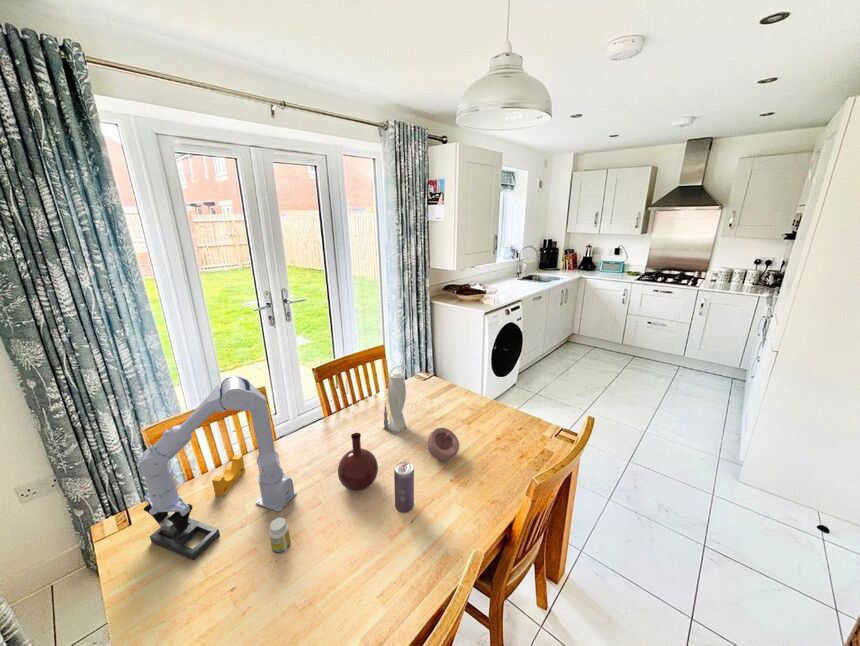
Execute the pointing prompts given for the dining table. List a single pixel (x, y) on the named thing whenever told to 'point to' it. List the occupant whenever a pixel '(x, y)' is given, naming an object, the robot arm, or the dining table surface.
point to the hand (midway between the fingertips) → (173, 526)
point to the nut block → (168, 528)
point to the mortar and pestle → (443, 444)
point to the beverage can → (404, 487)
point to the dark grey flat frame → (187, 539)
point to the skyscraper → (395, 402)
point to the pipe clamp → (228, 476)
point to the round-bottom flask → (357, 467)
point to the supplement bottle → (279, 536)
